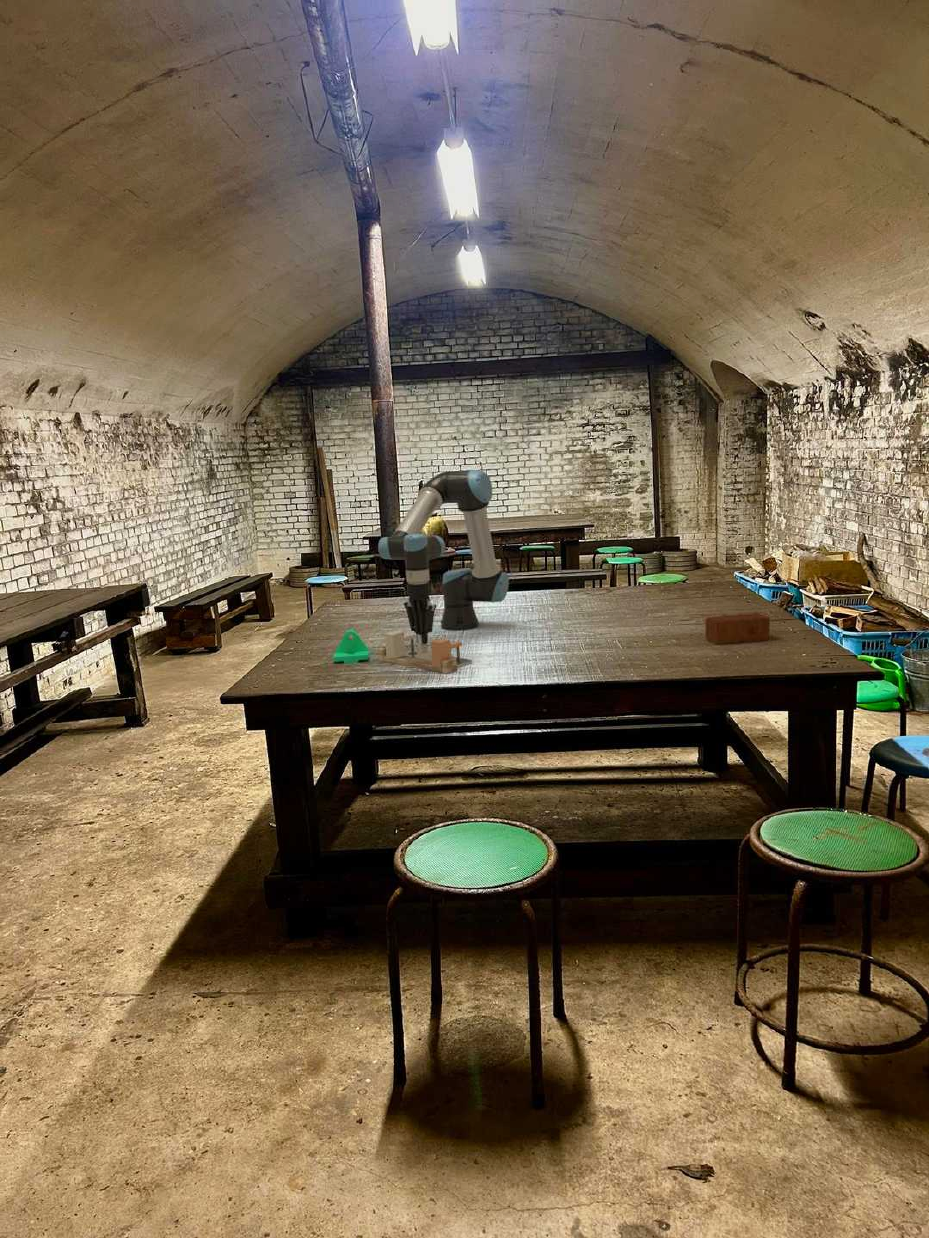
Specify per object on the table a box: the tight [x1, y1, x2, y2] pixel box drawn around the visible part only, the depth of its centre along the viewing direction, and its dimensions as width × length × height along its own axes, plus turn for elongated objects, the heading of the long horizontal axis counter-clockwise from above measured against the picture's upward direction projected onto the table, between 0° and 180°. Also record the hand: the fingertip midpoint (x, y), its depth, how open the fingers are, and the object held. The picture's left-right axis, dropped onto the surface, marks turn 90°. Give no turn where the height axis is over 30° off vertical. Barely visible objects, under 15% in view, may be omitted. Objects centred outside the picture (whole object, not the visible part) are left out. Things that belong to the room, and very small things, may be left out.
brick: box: [705, 612, 771, 646], centre depth 267 cm, size 20×8×8 cm, turn 99°
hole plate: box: [404, 649, 473, 669], centre depth 262 cm, size 8×28×1 cm, turn 48°
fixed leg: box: [384, 630, 417, 659], centre depth 264 cm, size 12×4×8 cm, turn 138°
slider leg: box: [430, 637, 463, 668], centre depth 250 cm, size 12×4×8 cm, turn 138°
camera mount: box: [332, 629, 371, 665], centre depth 267 cm, size 12×8×10 cm, turn 94°
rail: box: [378, 647, 458, 675], centre depth 256 cm, size 5×32×4 cm, turn 48°
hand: (423, 652), depth 253 cm, fingers closed
